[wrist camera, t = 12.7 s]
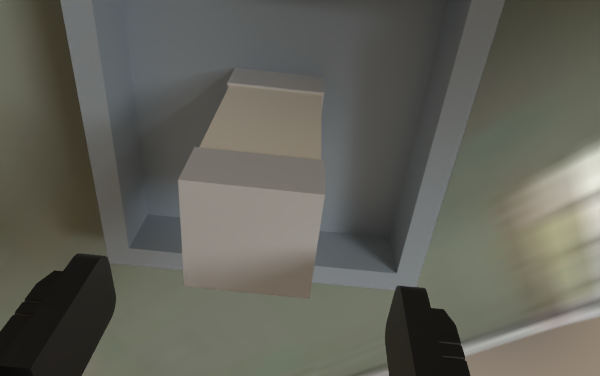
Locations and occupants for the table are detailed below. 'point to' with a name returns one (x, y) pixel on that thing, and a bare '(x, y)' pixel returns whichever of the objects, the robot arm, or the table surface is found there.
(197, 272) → the block
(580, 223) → the table surface
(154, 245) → the parts tray
